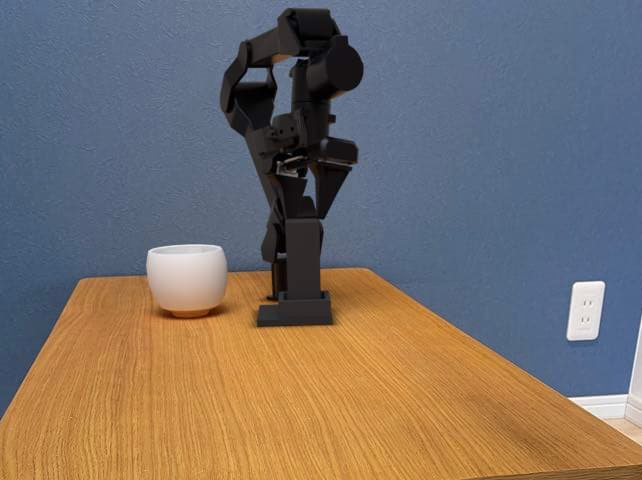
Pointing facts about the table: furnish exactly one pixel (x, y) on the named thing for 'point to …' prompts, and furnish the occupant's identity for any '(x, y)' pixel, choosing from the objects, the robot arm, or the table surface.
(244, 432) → the table surface
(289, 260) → the post
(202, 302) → the cup
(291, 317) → the base pad
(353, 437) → the table surface
